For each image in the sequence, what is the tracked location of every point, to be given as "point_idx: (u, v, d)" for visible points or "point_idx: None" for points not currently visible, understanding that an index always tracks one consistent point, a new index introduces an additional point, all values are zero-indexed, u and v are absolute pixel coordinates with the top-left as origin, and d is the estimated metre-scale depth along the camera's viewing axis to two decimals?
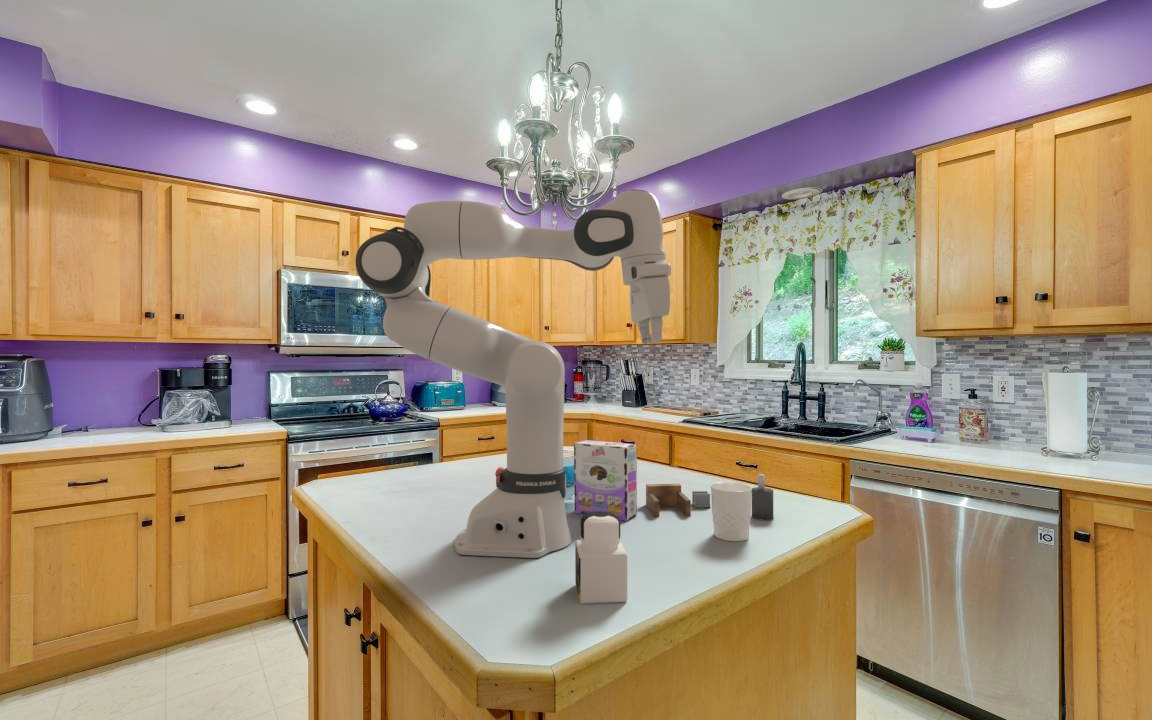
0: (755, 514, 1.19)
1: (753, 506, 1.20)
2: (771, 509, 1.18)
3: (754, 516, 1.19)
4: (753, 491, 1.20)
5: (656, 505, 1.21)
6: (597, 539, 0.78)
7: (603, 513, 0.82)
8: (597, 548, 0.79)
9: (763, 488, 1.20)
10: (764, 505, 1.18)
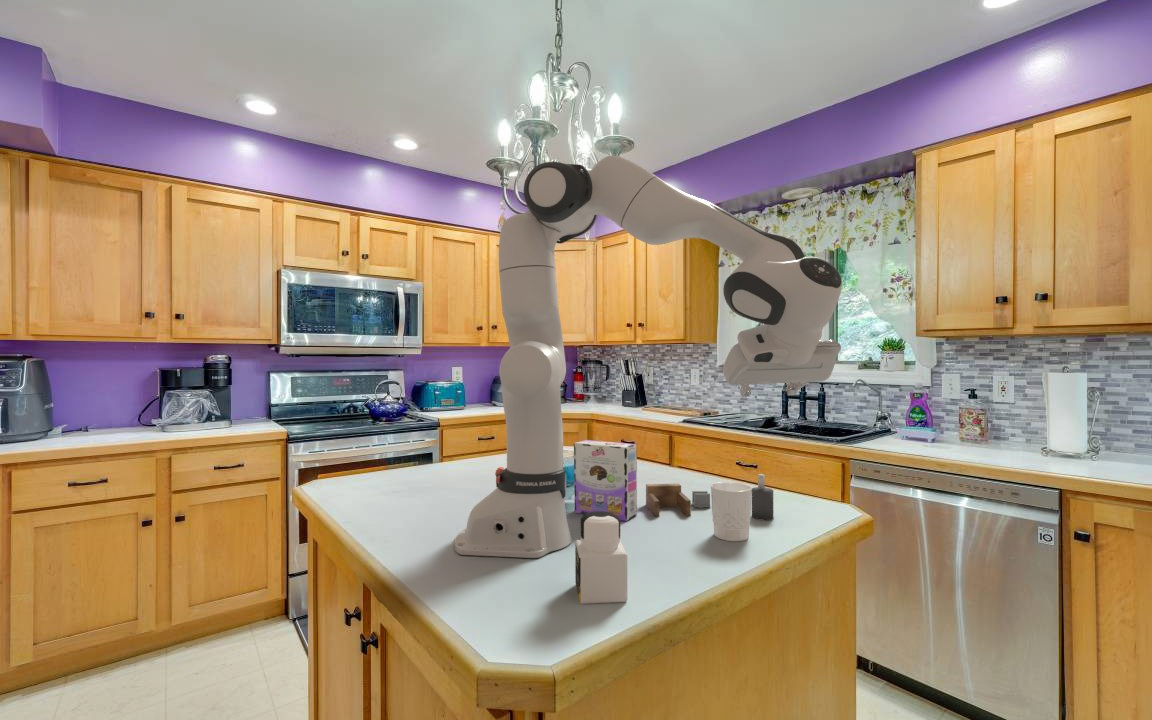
0: (755, 514, 1.19)
1: (753, 506, 1.20)
2: (771, 509, 1.18)
3: (754, 516, 1.19)
4: (753, 491, 1.20)
5: (656, 505, 1.21)
6: (597, 539, 0.78)
7: (603, 513, 0.82)
8: (597, 548, 0.79)
9: (763, 488, 1.20)
10: (764, 505, 1.18)
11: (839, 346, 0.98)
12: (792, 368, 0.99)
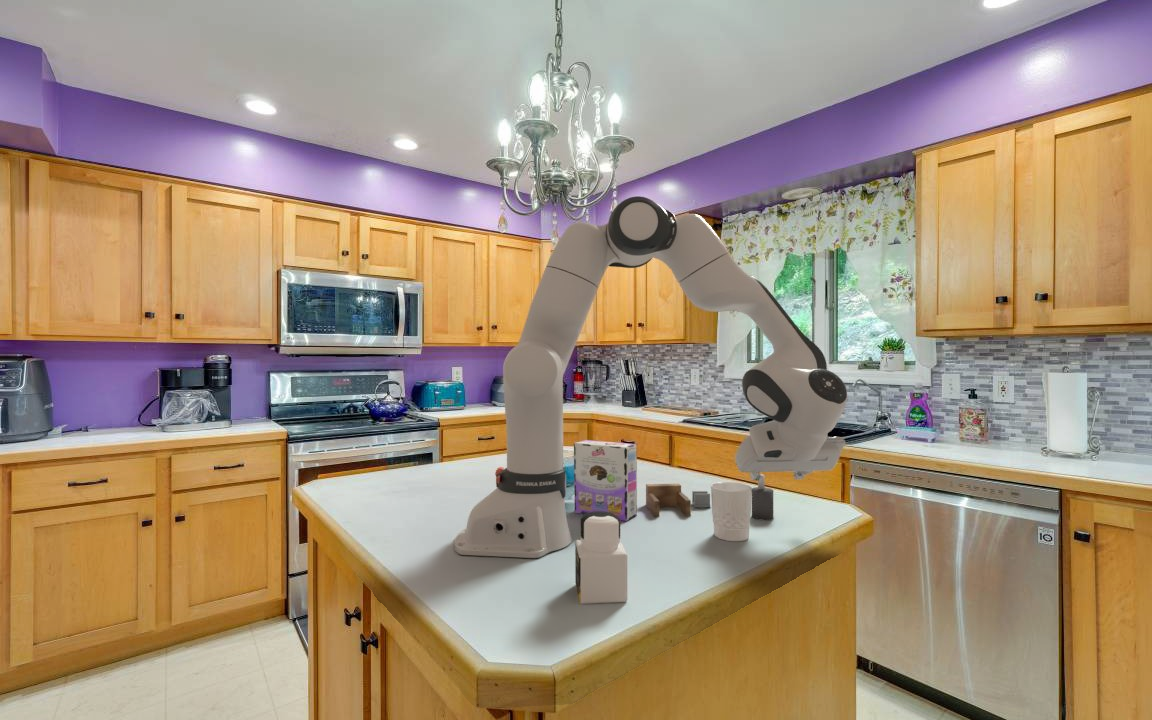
0: (755, 514, 1.19)
1: (753, 506, 1.20)
2: (771, 509, 1.18)
3: (754, 516, 1.19)
4: (753, 491, 1.20)
5: (656, 505, 1.21)
6: (597, 539, 0.78)
7: (603, 513, 0.82)
8: (597, 548, 0.79)
9: (763, 488, 1.20)
10: (764, 505, 1.18)
11: (844, 442, 1.05)
12: None
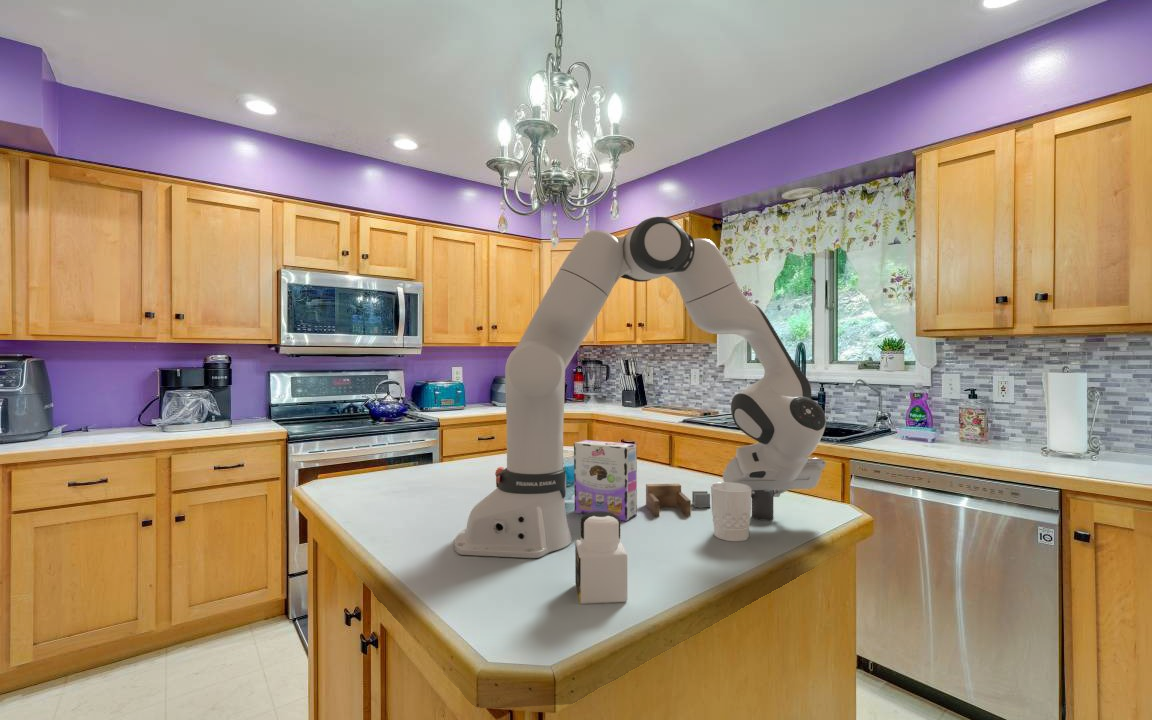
0: (755, 514, 1.19)
1: (753, 506, 1.20)
2: (771, 509, 1.18)
3: (754, 516, 1.19)
4: None
5: (656, 505, 1.21)
6: (597, 539, 0.78)
7: (603, 513, 0.82)
8: (597, 548, 0.79)
9: None
10: (764, 505, 1.18)
11: (824, 463, 1.12)
12: None
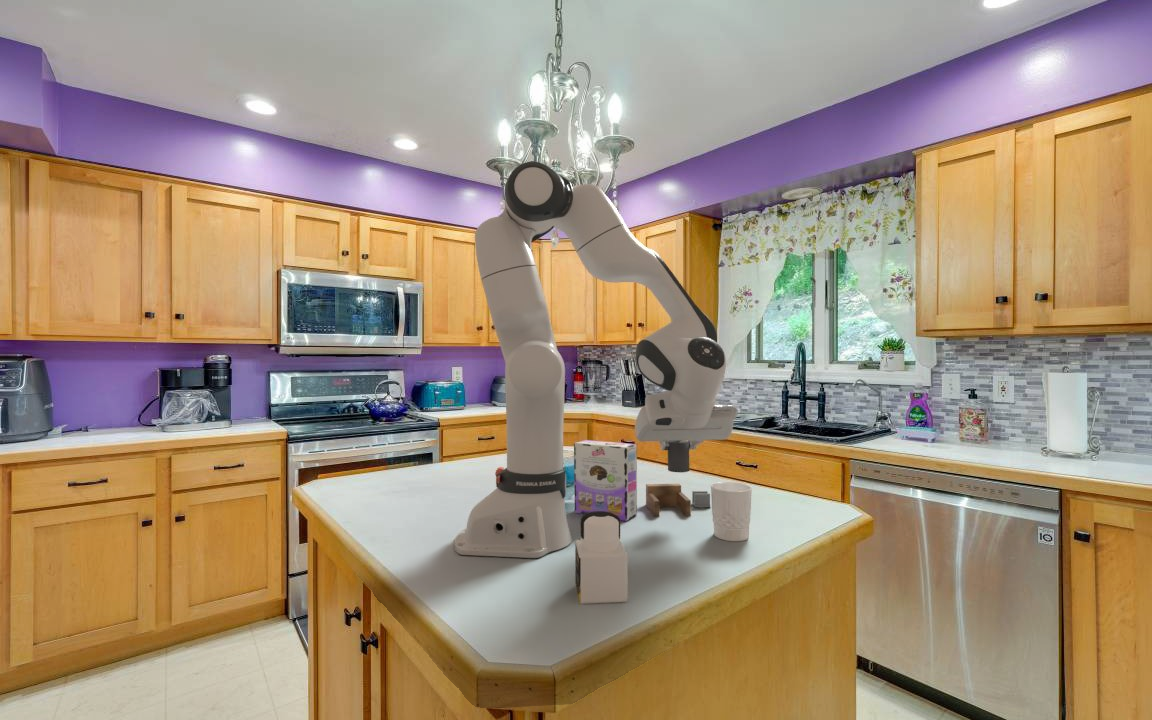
0: (670, 466, 1.16)
1: (668, 459, 1.16)
2: (686, 461, 1.15)
3: (669, 469, 1.16)
4: None
5: (656, 505, 1.21)
6: (597, 539, 0.78)
7: (603, 513, 0.82)
8: (597, 548, 0.79)
9: None
10: (678, 456, 1.14)
11: (736, 410, 1.09)
12: (694, 429, 1.10)
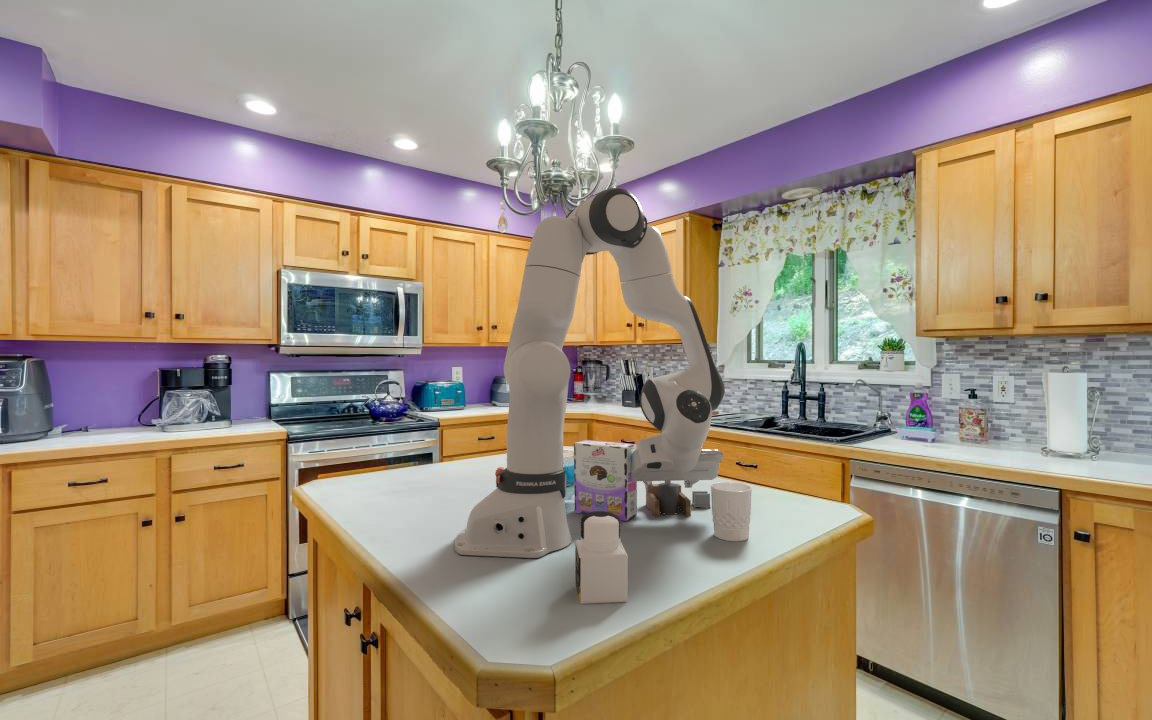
0: (660, 508, 1.24)
1: (659, 501, 1.24)
2: (675, 504, 1.23)
3: (659, 510, 1.24)
4: (659, 486, 1.24)
5: (656, 505, 1.21)
6: (597, 539, 0.78)
7: (603, 513, 0.82)
8: (597, 548, 0.79)
9: (669, 483, 1.25)
10: (668, 499, 1.23)
11: (721, 454, 1.17)
12: None
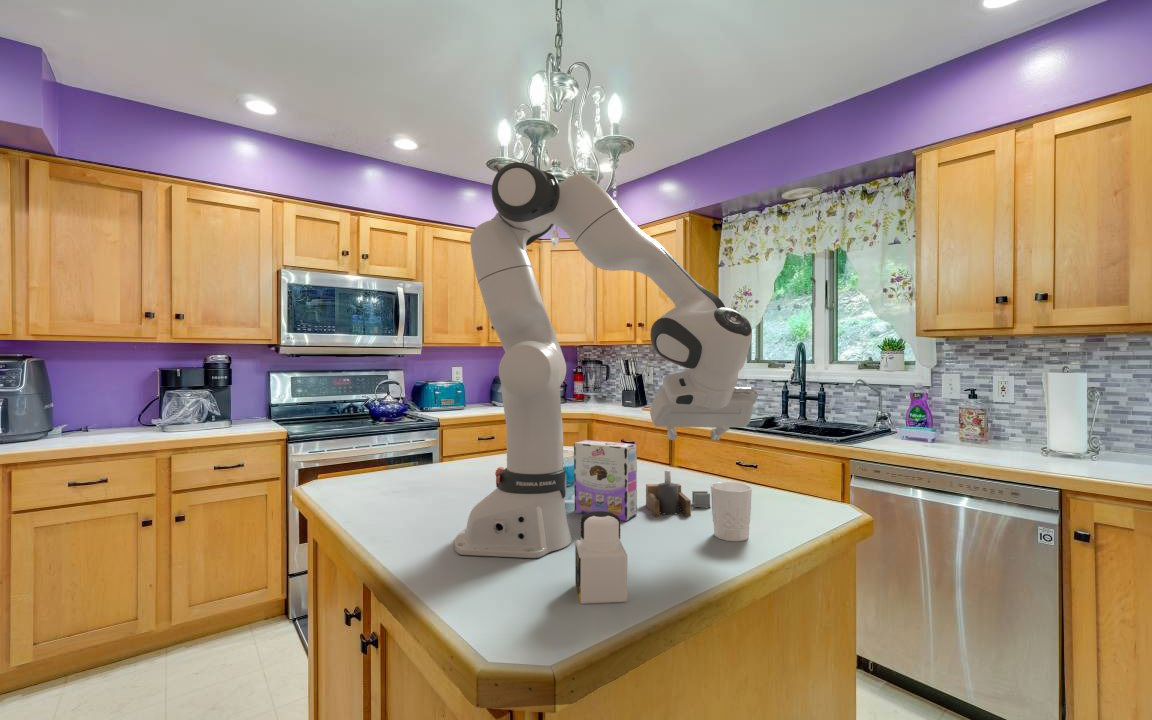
0: (660, 508, 1.24)
1: (659, 501, 1.24)
2: (675, 504, 1.23)
3: (659, 510, 1.24)
4: (659, 486, 1.24)
5: (656, 505, 1.21)
6: (597, 539, 0.78)
7: (603, 513, 0.82)
8: (597, 548, 0.79)
9: (669, 483, 1.25)
10: (668, 499, 1.23)
11: (756, 393, 1.05)
12: (713, 412, 1.05)
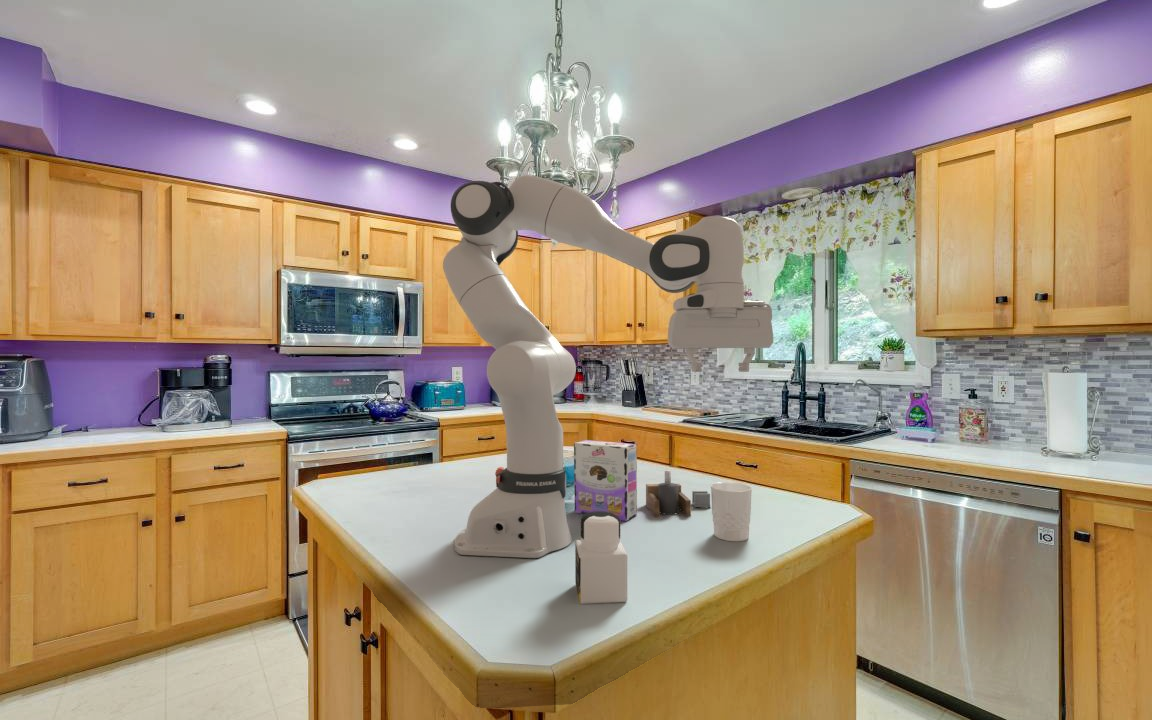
0: (660, 508, 1.24)
1: (659, 501, 1.24)
2: (675, 504, 1.23)
3: (659, 510, 1.24)
4: (659, 486, 1.24)
5: (656, 505, 1.21)
6: (597, 539, 0.78)
7: (603, 513, 0.82)
8: (597, 548, 0.79)
9: (669, 483, 1.25)
10: (668, 499, 1.23)
11: (769, 307, 1.05)
12: (731, 326, 1.03)
